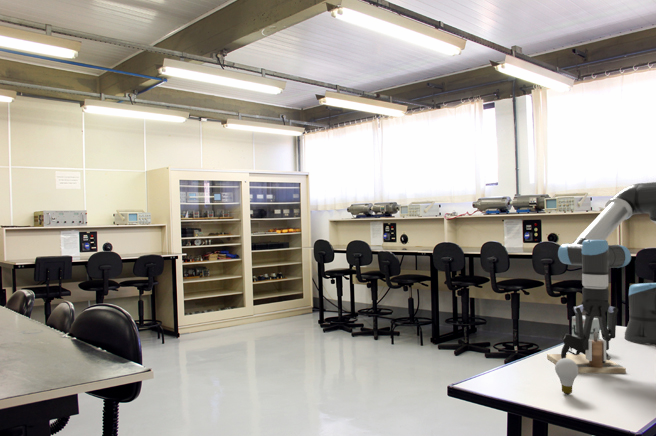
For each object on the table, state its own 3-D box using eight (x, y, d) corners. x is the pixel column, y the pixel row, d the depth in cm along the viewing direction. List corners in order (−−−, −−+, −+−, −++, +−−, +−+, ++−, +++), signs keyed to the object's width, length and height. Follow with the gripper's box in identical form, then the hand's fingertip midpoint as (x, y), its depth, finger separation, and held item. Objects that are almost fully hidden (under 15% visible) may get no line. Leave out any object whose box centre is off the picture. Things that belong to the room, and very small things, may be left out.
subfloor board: (599, 358, 175) (599, 354, 175) (625, 373, 158) (625, 368, 158) (547, 358, 176) (547, 353, 176) (568, 372, 159) (567, 367, 159)
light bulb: (558, 389, 143) (558, 354, 143) (581, 393, 140) (580, 358, 140) (552, 395, 139) (552, 359, 139) (575, 399, 135) (575, 362, 135)
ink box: (571, 346, 193) (570, 315, 193) (580, 345, 195) (579, 314, 195) (591, 351, 185) (591, 319, 185) (600, 350, 187) (600, 318, 187)
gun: (600, 380, 164) (614, 353, 164) (555, 357, 165) (569, 330, 165) (596, 377, 167) (610, 350, 167) (552, 354, 168) (566, 328, 168)
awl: (604, 367, 159) (604, 333, 159) (592, 367, 159) (592, 333, 159) (598, 364, 163) (598, 330, 163) (587, 364, 163) (586, 330, 163)
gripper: (615, 286, 165) (616, 357, 164) (563, 285, 166) (564, 356, 165) (628, 288, 157) (629, 363, 157) (573, 288, 158) (574, 362, 158)
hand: (595, 359), depth 161 cm, fingers closed on awl, 4 cm apart
